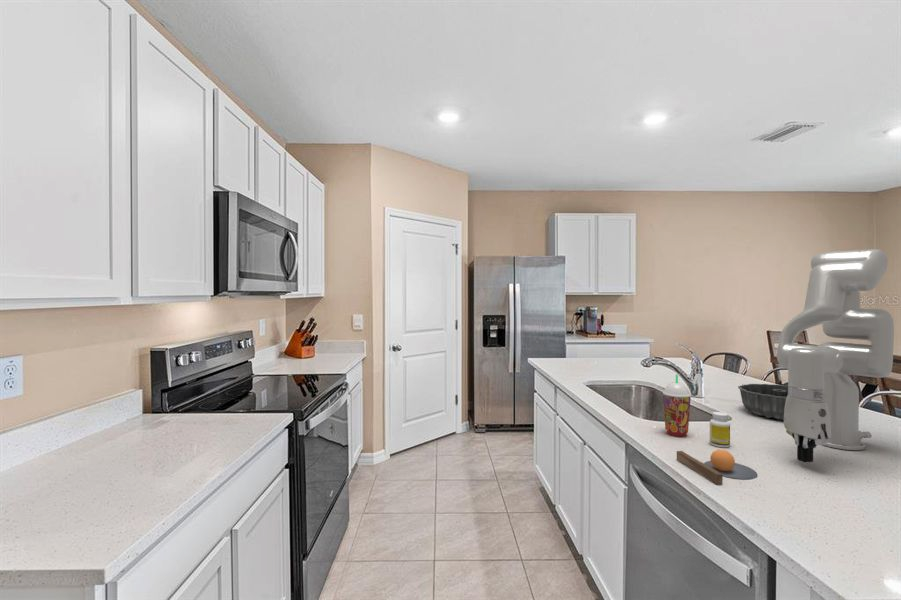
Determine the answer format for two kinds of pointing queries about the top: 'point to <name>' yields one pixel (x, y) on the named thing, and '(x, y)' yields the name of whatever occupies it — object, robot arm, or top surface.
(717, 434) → the supplement bottle
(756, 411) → the bundt pan
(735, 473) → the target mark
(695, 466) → the rail
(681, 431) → the smoothie
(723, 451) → the ball
